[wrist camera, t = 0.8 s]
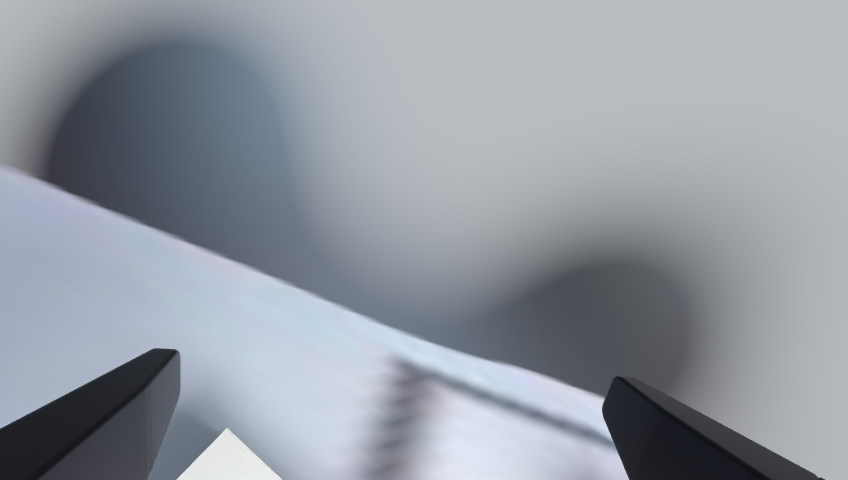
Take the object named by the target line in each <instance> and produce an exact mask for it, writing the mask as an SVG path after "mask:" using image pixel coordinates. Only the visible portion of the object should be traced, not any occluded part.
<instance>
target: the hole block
mask: <svg viewBox="0 0 848 480" xmlns="http://www.w3.org/2000/svg"><path fill="white" fill-rule="evenodd" d="M177 480H282V479H281V478H280V477H279V476H278V475H277V474H276V473H275V472H274V471H272V470H271V469H270V468H269V467H268V466H267V465H266V464H265V463H264V462H263V461H262V460H261V459H260V458H259V457H258V456H257V455H255V454H254V453H253V452H252V451H251V450H250V449H249V448H248V447H247V446H246V445H245V444H244V443H243V442H242V441H241V440H239V439H238V438H237V437H236V436H235V435H234V434H233V433H232V432H231V431H230V430H229V429H228V428H226V429H225V430H224V431H223V432H222V433H221V434H220V435H219V436H218V438H217V439H216V440H215V441H214V442H213V443H212V444H211V445H210V446H209V447H208V448H207V449H206V450H205V451H204V452H203V453H202V454H201V455H200V456H199V457H198V458H197V459H196V460H195V461H194V462H193V463H192V464H191V465H190V466H189V467H188V468H187V469H186V470H185V471H184V472H183V473H182V474H181V475H180V477H179V478H178V479H177Z"/></svg>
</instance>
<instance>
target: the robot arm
mask: <svg viewBox="0 0 848 480" xmlns="http://www.w3.org/2000/svg"><path fill="white" fill-rule="evenodd" d="M179 393H180V353H179V352H178V351H177V350H175V349H160V348H155V349H152V350H150V351H148V352H146V353H144V354H142V355H140V356H138V357H136V358H135V359H133V360H131V361H129V362H127V363H125V364H123V365H121V366H119V367H117V368H115V369H114V370H112V371H110V372H108V373H106V374H104V375H102V376H100V377H98V378H96V379H94V380H93V381H91V382H89V383H87V384H85V385H83V386H81V387H79V388H77V389H75V390H73V391H72V392H70V393H68V394H66V395H64V396H62V397H60V398H58V399H56V400H54V401H52V402H51V403H49V404H47V405H45V406H43V407H41V408H39V409H37V410H35V411H33V412H31V413H30V414H28V415H26V416H24V417H22V418H20V419H18V420H16V421H14V422H12V423H10V424H8V425H7V426H5V427H3V428H1V429H0V480H147V479H148V477H149V474H150V472H151V469H152V467H153V464H154V461H155V459H156V456H157V454H158V451H159V448H160V446H161V443H162V440H163V438H164V435H165V432H166V430H167V427H168V425H169V422H170V419H171V417H172V414H173V411H174V409H175V406H176V404H177V401H178V398H179ZM602 413H603V417H604V420H605V422H606V425H607V427H608V430H609V432H610V434H611V437H612V439H613V442H614V444H615V446H616V449H617V451H618V454H619V456H620V459H621V461H622V463H623V466H624V468H625V471H626V473H627V475H628V477H629V480H825V479H823V478H818V477H817V476H816V475H815V474H813V473H812V472H809V471H808V470H806V469H804V468H802V467H800V466H799V465H797V464H795V463H793V462H791V461H789V460H787V459H785V458H783V457H782V456H780V455H778V454H776V453H774V452H772V451H771V450H769V449H767V448H765V447H763V446H761V445H759V444H758V443H756V442H754V441H752V440H750V439H748V438H746V437H744V436H743V435H741V434H739V433H737V432H735V431H733V430H732V429H730V428H728V427H726V426H724V425H722V424H720V423H718V422H717V421H715V420H713V419H711V418H709V417H707V416H705V415H703V414H702V413H700V412H698V411H696V410H694V409H692V408H691V407H689V406H687V405H685V404H683V403H681V402H679V401H678V400H676V399H674V398H672V397H670V396H668V395H666V394H665V393H663V392H661V391H659V390H657V389H655V388H653V387H652V386H650V385H648V384H646V383H644V382H642V381H640V380H639V379H637V378H635V377H629V376H616V377H614V378H613V380H612V381H611V384H610V387H609V389H608V392H607V395H606V397H605V400H604V403H603V406H602Z"/></svg>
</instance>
